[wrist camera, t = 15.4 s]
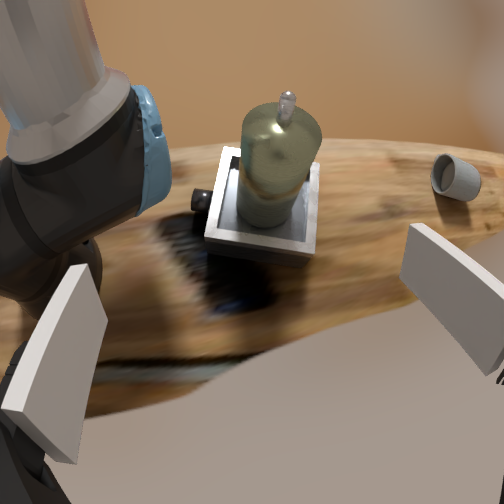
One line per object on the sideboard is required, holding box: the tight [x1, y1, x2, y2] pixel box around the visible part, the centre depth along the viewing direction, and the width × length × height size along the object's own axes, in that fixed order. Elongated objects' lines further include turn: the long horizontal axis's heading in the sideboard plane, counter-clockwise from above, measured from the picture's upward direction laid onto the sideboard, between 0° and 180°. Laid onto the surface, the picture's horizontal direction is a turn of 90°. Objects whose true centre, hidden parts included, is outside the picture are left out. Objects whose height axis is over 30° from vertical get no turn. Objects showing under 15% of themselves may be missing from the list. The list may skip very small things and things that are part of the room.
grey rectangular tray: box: [191, 147, 320, 268], centre depth 40 cm, size 16×13×6 cm
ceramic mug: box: [431, 153, 481, 201], centre depth 45 cm, size 11×8×8 cm
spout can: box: [236, 91, 322, 228], centre depth 30 cm, size 7×7×16 cm
